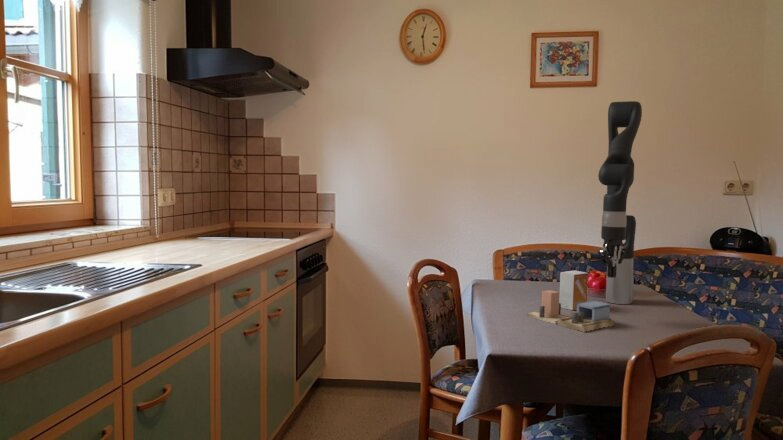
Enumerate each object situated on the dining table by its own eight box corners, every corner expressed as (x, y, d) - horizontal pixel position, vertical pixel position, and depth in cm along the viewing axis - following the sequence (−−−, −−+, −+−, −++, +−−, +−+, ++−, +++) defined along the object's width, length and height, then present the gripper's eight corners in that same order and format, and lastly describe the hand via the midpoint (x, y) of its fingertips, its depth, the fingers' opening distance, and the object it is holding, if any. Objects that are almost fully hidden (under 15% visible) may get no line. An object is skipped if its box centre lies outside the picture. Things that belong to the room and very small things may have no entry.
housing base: (587, 318, 186) (588, 305, 186) (613, 325, 178) (614, 311, 178) (557, 324, 178) (558, 310, 178) (584, 332, 170) (584, 317, 169)
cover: (592, 315, 185) (592, 300, 184) (609, 319, 179) (610, 304, 179) (576, 318, 180) (577, 303, 180) (593, 322, 175) (594, 307, 174)
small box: (572, 310, 197) (574, 274, 196) (558, 307, 203) (559, 271, 202) (587, 308, 202) (588, 272, 201) (573, 304, 207) (574, 270, 206)
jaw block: (549, 313, 189) (550, 290, 188) (558, 315, 186) (559, 292, 185) (541, 314, 187) (541, 291, 186) (550, 317, 183) (551, 293, 183)
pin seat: (545, 312, 194) (545, 299, 194) (574, 320, 184) (574, 306, 184) (526, 316, 189) (526, 303, 188) (554, 324, 179) (555, 310, 178)
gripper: (611, 226, 176) (609, 280, 177) (636, 225, 183) (633, 277, 184) (591, 224, 182) (589, 277, 183) (615, 223, 189) (613, 274, 191)
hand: (611, 277), depth 184 cm, fingers closed
